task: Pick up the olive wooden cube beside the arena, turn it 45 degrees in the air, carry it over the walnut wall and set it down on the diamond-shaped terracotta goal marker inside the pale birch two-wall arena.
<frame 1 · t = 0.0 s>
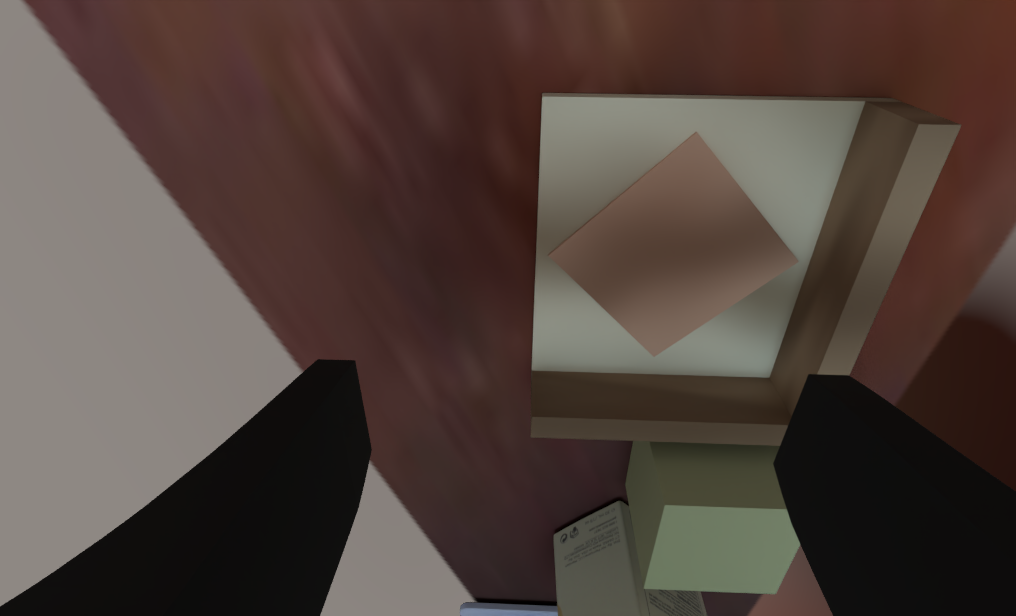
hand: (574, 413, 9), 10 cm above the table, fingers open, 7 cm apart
skincare box: (623, 540, 27), on the table
olive cube: (689, 446, 24), on the table
arena: (681, 263, 19), on the table
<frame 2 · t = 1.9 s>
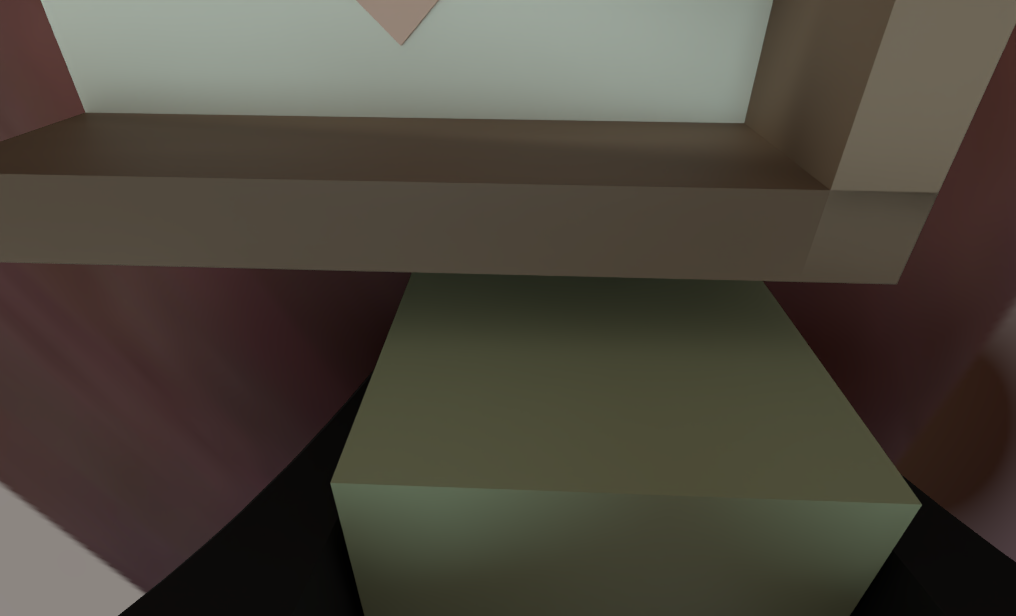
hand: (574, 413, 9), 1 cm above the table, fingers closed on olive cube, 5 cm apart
olive cube: (569, 360, 10), on the table, touching gripper
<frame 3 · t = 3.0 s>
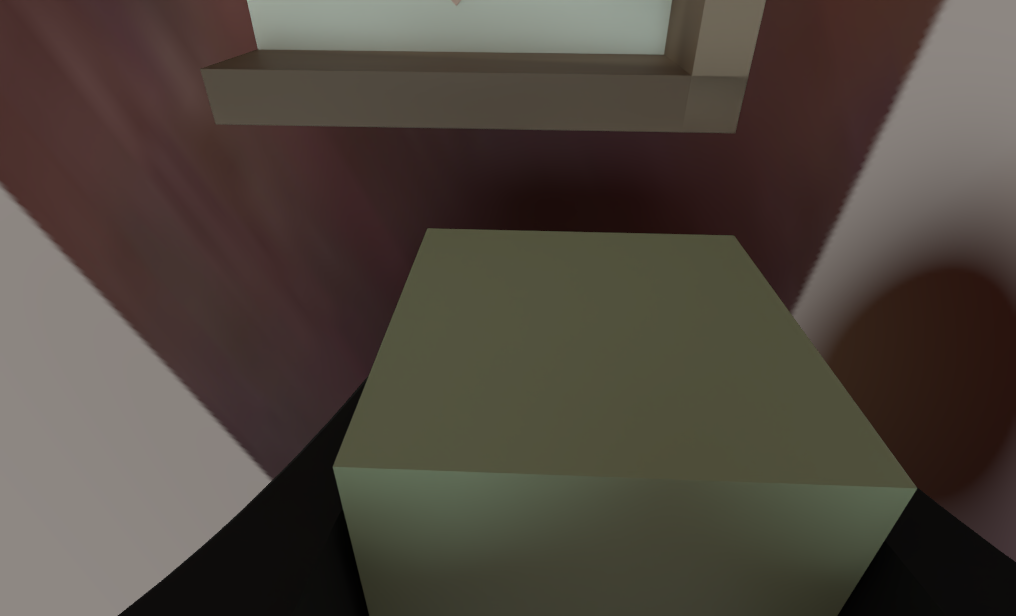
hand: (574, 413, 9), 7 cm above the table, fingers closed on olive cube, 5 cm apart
olive cube: (569, 353, 10), point 5 cm above the table, touching gripper
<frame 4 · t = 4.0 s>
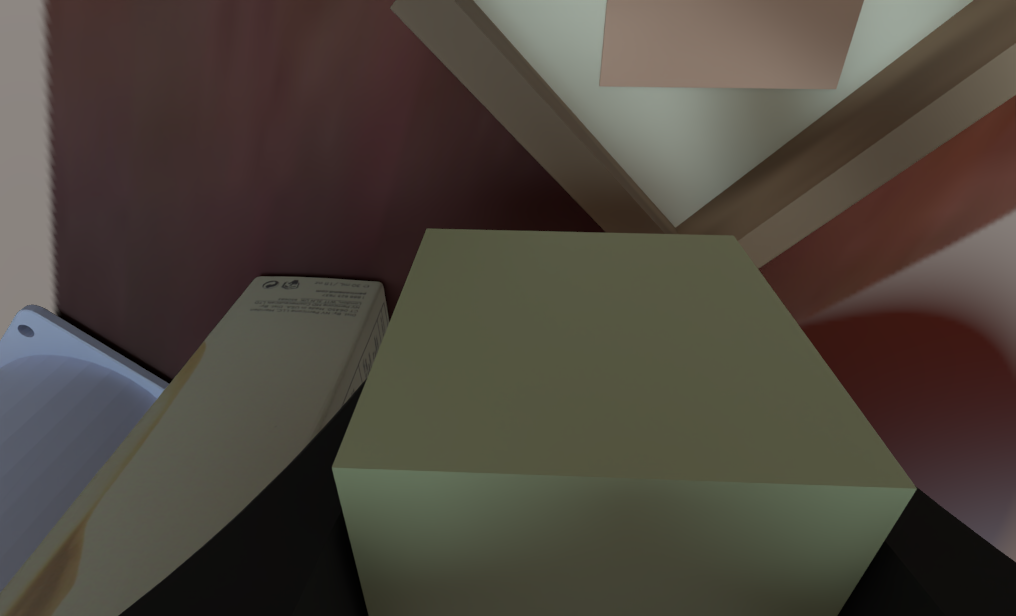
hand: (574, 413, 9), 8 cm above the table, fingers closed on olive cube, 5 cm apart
skincare box: (336, 349, 19), on the table
olive cube: (568, 353, 10), point 7 cm above the table, touching gripper
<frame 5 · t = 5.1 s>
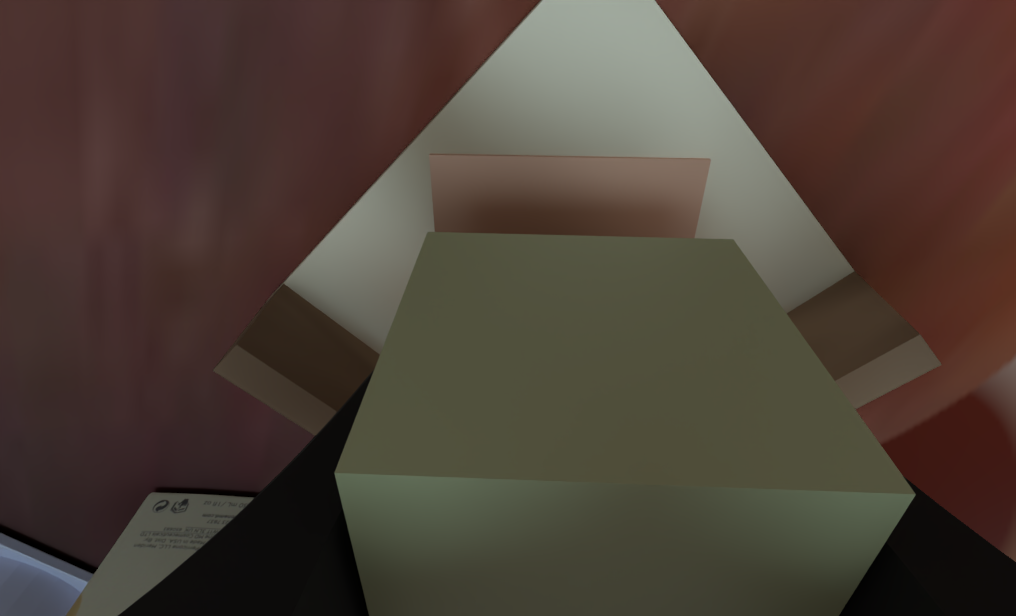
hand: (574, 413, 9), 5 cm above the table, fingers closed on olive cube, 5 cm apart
skincare box: (237, 540, 20), on the table
olive cube: (568, 356, 10), point 4 cm above the table, touching gripper
arena: (558, 292, 14), on the table
when the fingers open (3 cm above the table, at t = 6.0 s): olive cube stays where it is, resting on arena.
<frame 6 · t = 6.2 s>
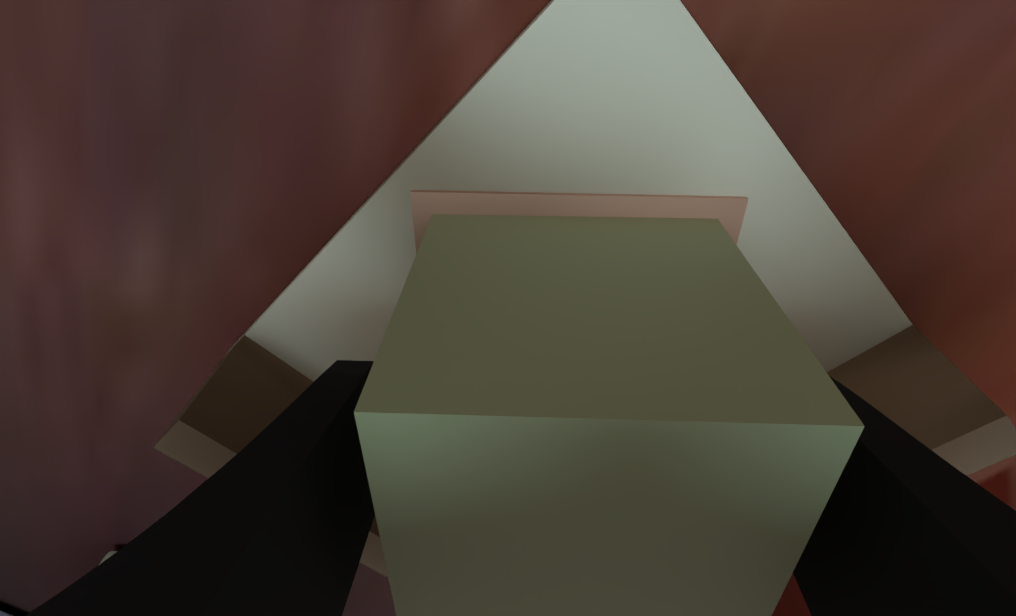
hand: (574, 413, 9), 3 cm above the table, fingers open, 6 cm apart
olive cube: (565, 332, 11), point 1 cm above the table, touching arena
arena: (563, 343, 12), on the table
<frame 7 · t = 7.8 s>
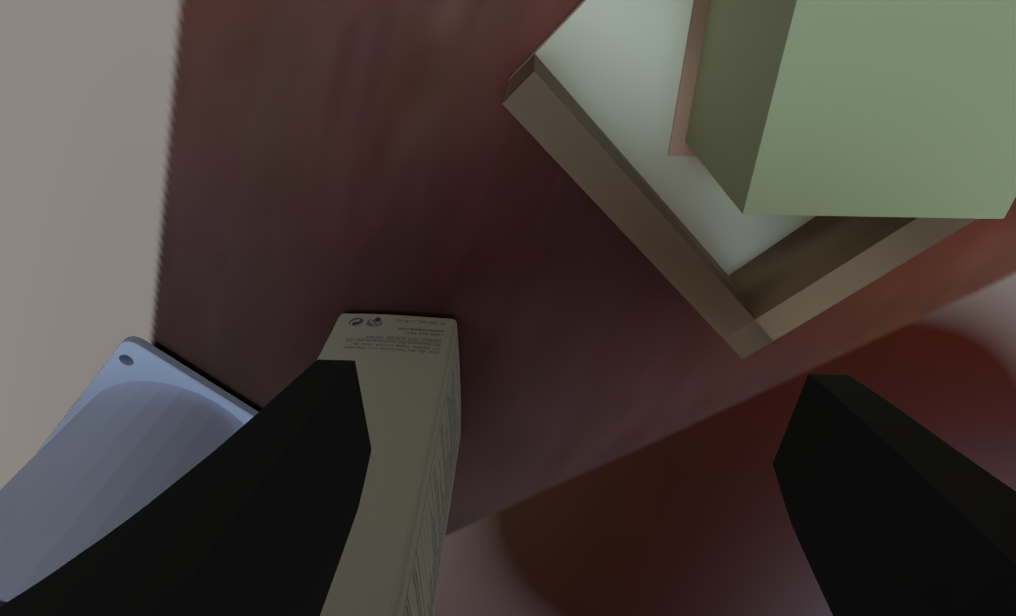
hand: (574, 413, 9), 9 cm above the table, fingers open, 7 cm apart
skincare box: (406, 377, 21), on the table
olive cube: (804, 42, 13), point 1 cm above the table, touching arena
arena: (788, 68, 14), on the table
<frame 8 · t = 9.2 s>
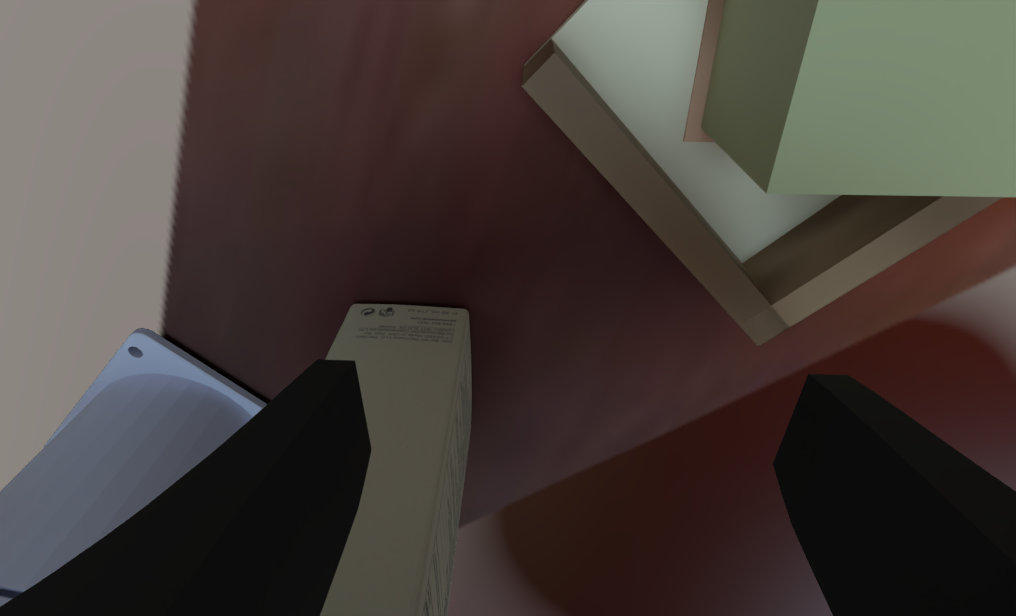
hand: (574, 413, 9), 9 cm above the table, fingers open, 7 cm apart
skincare box: (417, 368, 21), on the table
olive cube: (821, 25, 13), point 1 cm above the table, touching arena
arena: (804, 53, 14), on the table
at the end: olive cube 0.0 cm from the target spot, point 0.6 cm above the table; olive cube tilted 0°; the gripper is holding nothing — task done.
